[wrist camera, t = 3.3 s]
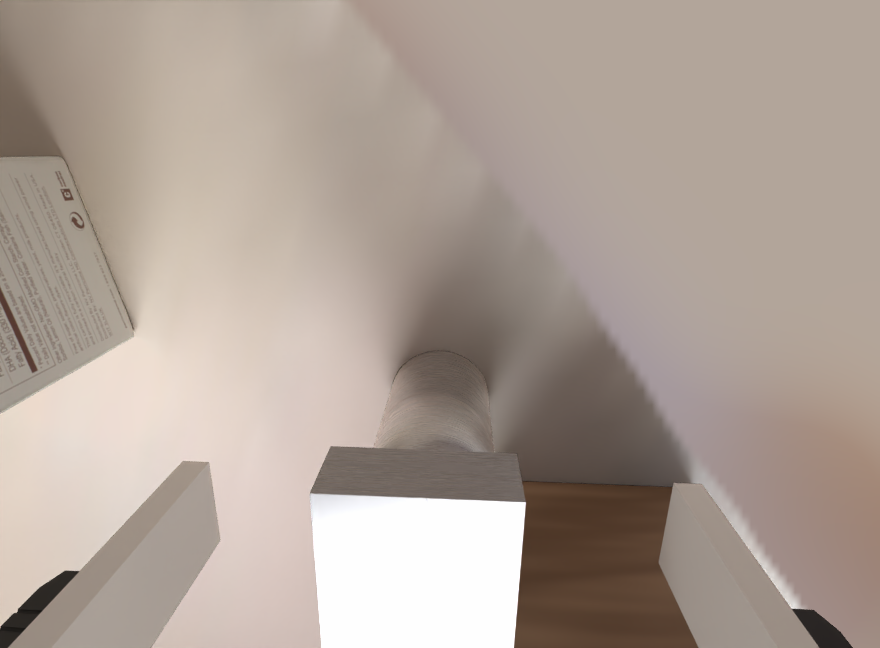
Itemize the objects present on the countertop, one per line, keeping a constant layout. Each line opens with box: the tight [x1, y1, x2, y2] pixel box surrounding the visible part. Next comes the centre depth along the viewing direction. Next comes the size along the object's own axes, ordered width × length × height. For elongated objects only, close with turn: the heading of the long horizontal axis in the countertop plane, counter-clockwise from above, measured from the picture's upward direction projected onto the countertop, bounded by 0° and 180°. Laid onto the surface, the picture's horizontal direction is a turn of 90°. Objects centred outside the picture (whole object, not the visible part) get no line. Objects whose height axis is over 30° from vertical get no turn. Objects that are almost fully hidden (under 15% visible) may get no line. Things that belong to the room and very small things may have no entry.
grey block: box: [310, 351, 526, 648], centre depth 16 cm, size 7×4×11 cm, turn 179°
